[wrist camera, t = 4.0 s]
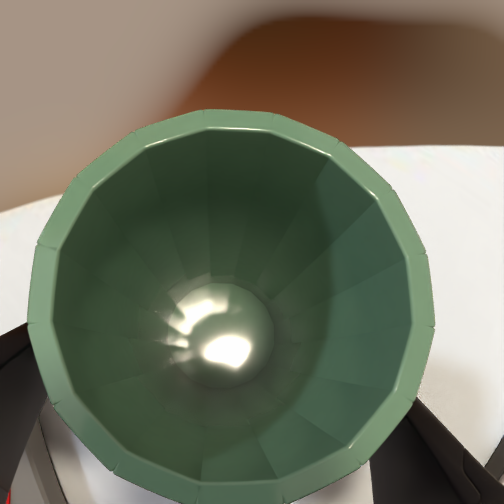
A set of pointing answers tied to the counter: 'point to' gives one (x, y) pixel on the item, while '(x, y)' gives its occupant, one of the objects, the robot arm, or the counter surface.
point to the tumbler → (231, 308)
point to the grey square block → (497, 463)
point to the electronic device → (35, 475)
